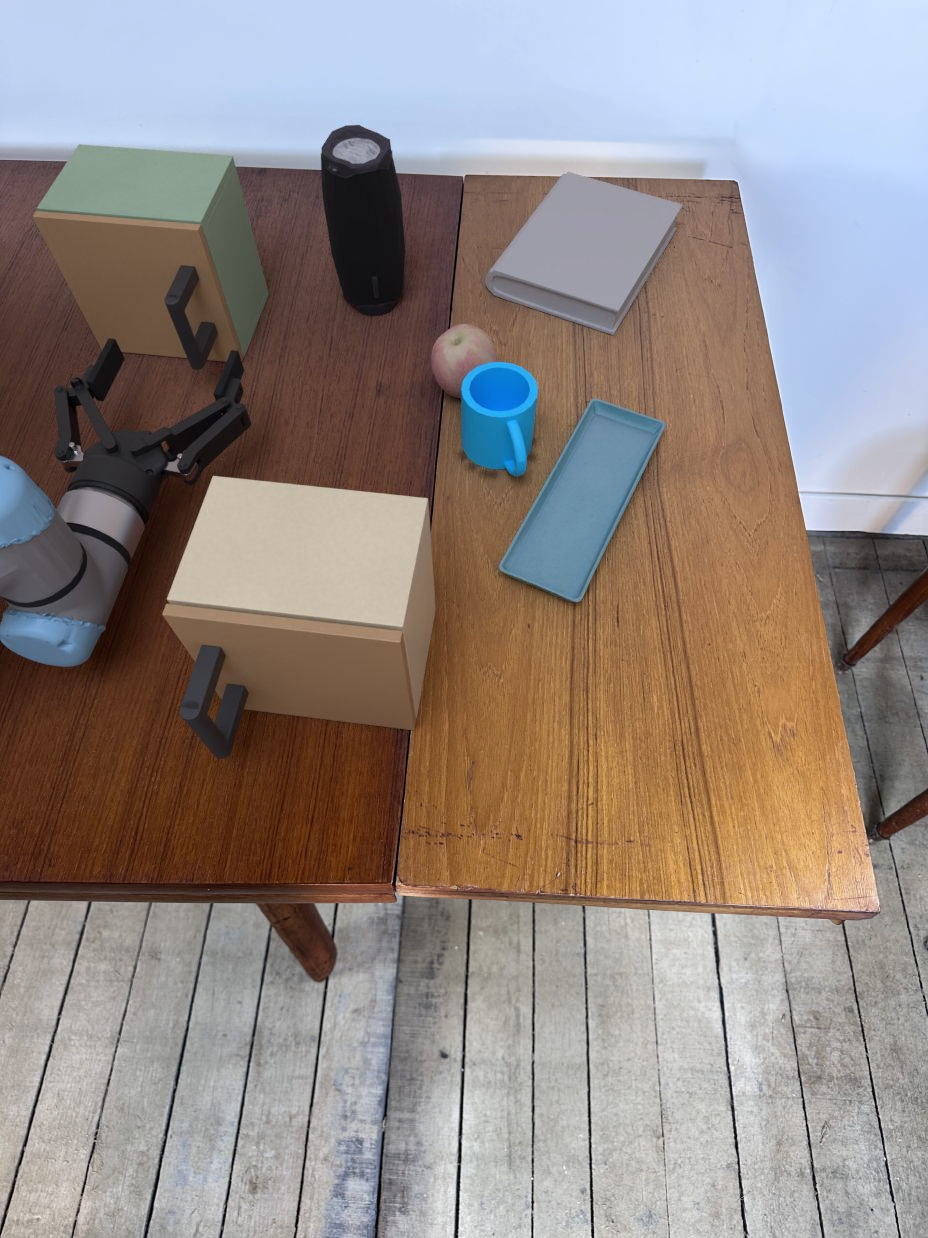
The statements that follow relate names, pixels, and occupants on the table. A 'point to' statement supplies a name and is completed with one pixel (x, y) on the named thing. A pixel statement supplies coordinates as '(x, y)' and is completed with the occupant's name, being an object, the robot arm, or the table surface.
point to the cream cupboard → (314, 559)
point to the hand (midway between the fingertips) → (177, 353)
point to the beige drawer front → (288, 671)
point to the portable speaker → (364, 217)
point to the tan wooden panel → (143, 284)
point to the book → (585, 252)
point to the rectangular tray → (582, 500)
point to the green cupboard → (173, 210)
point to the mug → (498, 416)
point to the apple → (460, 356)
